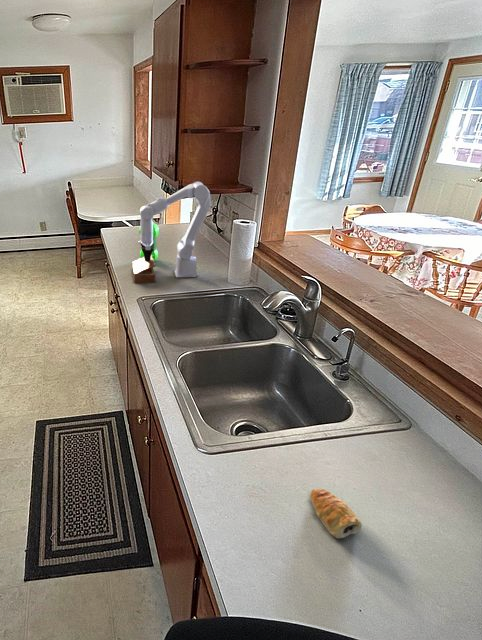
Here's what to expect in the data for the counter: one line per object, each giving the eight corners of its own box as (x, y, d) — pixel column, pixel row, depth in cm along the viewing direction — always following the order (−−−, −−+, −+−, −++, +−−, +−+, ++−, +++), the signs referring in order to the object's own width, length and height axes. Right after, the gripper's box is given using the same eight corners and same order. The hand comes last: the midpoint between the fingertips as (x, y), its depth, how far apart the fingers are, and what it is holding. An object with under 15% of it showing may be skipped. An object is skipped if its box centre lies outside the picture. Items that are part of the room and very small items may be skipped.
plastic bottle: (136, 258, 211) (135, 213, 201) (154, 256, 214) (154, 211, 204) (143, 265, 202) (143, 218, 192) (162, 262, 205) (162, 215, 195)
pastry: (300, 499, 81) (303, 486, 80) (326, 490, 83) (330, 477, 81) (335, 543, 73) (339, 529, 72) (364, 532, 75) (369, 519, 73)
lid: (151, 254, 194) (148, 246, 192) (155, 266, 180) (151, 257, 178) (132, 263, 196) (128, 254, 194) (134, 275, 181) (130, 266, 180)
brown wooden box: (151, 269, 197) (151, 262, 195) (154, 282, 183) (154, 274, 181) (132, 270, 197) (132, 263, 196) (134, 282, 183) (134, 275, 181)
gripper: (137, 227, 188) (137, 254, 193) (139, 237, 174) (139, 265, 180) (151, 227, 187) (151, 253, 193) (154, 236, 174) (154, 264, 180)
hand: (146, 259), depth 186 cm, fingers closed on lid, 5 cm apart
